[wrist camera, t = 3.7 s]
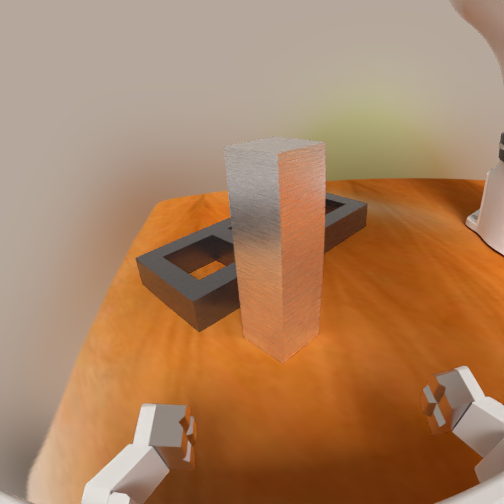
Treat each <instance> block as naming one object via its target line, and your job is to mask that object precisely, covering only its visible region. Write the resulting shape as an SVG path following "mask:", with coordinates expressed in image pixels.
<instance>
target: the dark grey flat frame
mask: <svg viewBox="0 0 504 504" xmlns="http://www.w3.org/2000/svg"><path fill="white" fill-rule="evenodd" d="M366 217H367V203H363V202H359V201H356V200H352V199H348V198H344V197H340V196H337V195H333V194H329V193H325V234H324V253H325V252H327V251H329V250H330V249H332V248H333V247H335V246H336V245H338V244H339V243H341V242H342V241H344V240H345V239H347V238H348V237H350V236H351V235H353V234H354V233H355V232H357V231H358V230H360V229H361V228H363V227H364V226H366ZM215 260H217V261H219V262H221V263H222V264H224V265H226V267H224V268H222V269H220V270H218V271H216V272H214V273H212V274H210V275H208V276H207V277H205V278H203V279H201V280H197V279H196V278H194V277H193V276H191V275H189V273H191V272H193V271H195V270H197V269H199V268H201V267H203V266H205V265H207V264H209V263H211V262H213V261H215ZM136 262H137V266H138V269H139V273H140V277H141V280H142V284H143V285H144V286H145V287H146V288H148V289H149V290H150V291H151V292H152V293H153V294H154V295H156V296H157V297H158V298H159V299H160V300H161V301H163V302H164V303H165V304H166V305H167V306H168V307H170V308H171V309H172V310H173V311H174V312H176V313H177V314H178V315H179V316H180V317H182V318H183V319H184V320H185V321H186V322H188V323H189V324H190V325H191V326H193V327H194V328H195V329H196V330H198V331H199V332H200V331H202V330H203V329H205V328H207V327H208V326H210V325H212V324H213V323H215V322H217V321H218V320H220V319H222V318H223V317H225V316H226V315H228V314H230V313H231V312H233V311H235V310H236V309H238V308H239V307H240V300H239V291H238V282H237V272H236V263H235V254H234V244H233V234H232V225H231V218H228V219H226V220H223V221H221V222H218V223H216V224H214V225H211V226H209V227H206V228H204V229H202V230H199V231H197V232H195V233H192V234H190V235H188V236H185V237H183V238H181V239H178V240H176V241H174V242H171V243H169V244H167V245H164V246H162V247H160V248H157V249H155V250H153V251H151V252H148V253H146V254H144V255H142V256H139V257H137V258H136Z"/></svg>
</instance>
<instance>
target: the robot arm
mask: <svg viewBox="0 0 504 504" xmlns="http://www.w3.org/2000/svg"><path fill="white" fill-rule="evenodd" d="M450 2H451V4H452V6H453V7H454V9H455V10H456V11H457V13H458V14H459V15H460V16H461V17H462V18H463V19H464V20H465V21H467V22H468V23H470V25H472V26H473V27H474V28H475V29H476V30H477V31H478V32H479V33H480V34H481V35H482V36H483V37H484V39H485V40H486V41H487V43H488V44H489V46H490V47H491V49H492V50H493V52H494V54H495V56H496V58H497V60H498V63H499V66H500V69H501V72H502V77H503V83H504V0H450ZM499 147H500V150H499V158H500V162H499V163H498V165H497V166H496V167H494V168H493V169H491V170H490V171H489V172H487V176H486V180H485V187H484V192H483V197H482V202H481V207H480V209H479V210H477V211H476V212H474V213H473V214H471V215H470V216H468V217H467V220H466V223H465V224H466V225H467V226H468V227H469V228H471V229H472V230H474V231H475V232H477V233H478V234H479V235H480V236H481V237H482V239H483V240H484V241H485V242H486V243H487V244H488V245H490V246H491V247H492V248H494V249H495V250H496V251H498V252H500V253H501V254H503V255H504V133H502V134H501V141H500V143H499ZM427 384H428V385H427V386H426V387H425V388H424V389H423V390H422V392H421V395H420V404H421V408H422V411H423V413H424V414H426V415H427V416H429V418H428V422H427V423H428V425H429V428H430V430H431V432H432V435H433V436H437V435H440V434H443V433H446V432H449V431H452V430H453V431H452V432H453V433H454V434H455V435H456V436H458V437H459V438H460V439H461V440H462V441H464V442H465V443H466V444H467V445H468V446H470V447H471V448H472V449H473V450H474V451H476V452H477V453H478V454H479V455H480V456H482V457H483V459H482V460H481V461H480V462H479V463H478V464H477V465H476V467H475V469H474V470H475V472H476V475H477V478H478V480H479V483H480V484H478V485H476V486H474V487H472V488H470V489H468V490H465V491H463V492H461V493H459V494H456V495H454V496H452V497H449V498H447V499H445V500H442V501H440V502H437V503H434V504H504V405H502V404H501V403H499V402H497V401H496V400H494V399H492V398H491V397H489V396H488V397H485V395H484V393H483V391H482V390H481V388H480V386H479V385H478V383H477V381H476V379H475V378H474V376H473V374H472V373H471V371H470V369H469V368H468V367H467V366H461V367H457V368H454V369H450V370H446V371H443V372H440V373H436V374H433V375H431V376H429V378H428V380H427ZM196 440H197V428H196V422H195V419H194V417H192V416H191V409H190V407H189V405H172V404H151V403H143V405H142V407H141V409H140V414H139V418H138V422H137V427H136V431H135V436H134V440H133V444H128V445H127V446H126V447H125V448H124V449H123V450H122V451H121V452H120V453H119V454H118V455H117V456H116V457H115V458H114V459H112V460H111V461H110V462H109V463H108V464H107V465H106V466H105V467H104V468H103V469H102V470H101V471H100V472H99V473H98V474H97V475H96V476H94V477H93V478H92V479H91V480H90V481H89V482H88V483H87V484H86V485H85V489H84V493H83V498H82V502H81V504H144V503H145V501H146V500H147V499H148V498H149V496H150V495H151V494H152V493H153V491H154V490H155V489H156V488H157V486H158V485H159V484H160V483H161V481H162V480H163V479H164V477H165V476H166V475H167V474H168V472H169V471H170V470H169V469H177V470H194V464H195V452H194V450H193V447H192V446H193V445H194V444H195V443H196ZM0 504H35V503H32V502H30V501H27V500H25V499H22V498H20V497H17V496H15V495H13V494H11V493H9V492H7V491H4V490H2V489H0Z"/></svg>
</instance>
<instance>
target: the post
mask: <svg viewBox="0 0 504 504" xmlns="http://www.w3.org/2000/svg"><path fill="white" fill-rule="evenodd" d="M224 152H225V163H226V173H227V184H228V195H229V205H230V215H231V225H232V234H233V244H234V254H235V263H236V272H237V282H238V291H239V300H240V309H241V318H242V326H243V335H244V338H245V339H247V340H248V341H250V342H251V343H253V344H254V345H255V346H257V347H258V348H260V349H261V350H263V351H264V352H266V353H267V354H269V355H271V356H272V357H274V358H275V359H277V360H278V361H280V362H281V363H285V362H286V361H287V360H288V359H289V358H291V357H292V356H293V355H294V354H296V353H297V352H298V351H299V350H300V349H301V348H303V347H304V346H305V345H306V344H307V343H309V342H310V341H311V340H312V339H313V338H314V337H316V336H317V335H318V334H319V322H320V309H321V294H322V278H323V259H324V234H325V193H326V143H325V142H318V141H310V140H302V139H293V138H283V137H268V138H263V139H258V140H253V141H248V142H244V143H239V144H235V145H230V146H226V147H224Z"/></svg>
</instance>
